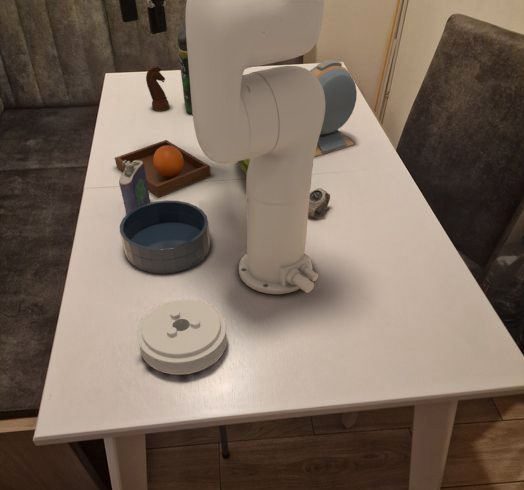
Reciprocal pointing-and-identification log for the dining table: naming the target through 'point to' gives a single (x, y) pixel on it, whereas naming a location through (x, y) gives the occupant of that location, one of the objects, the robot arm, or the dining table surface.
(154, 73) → the chess piece
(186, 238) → the bowl
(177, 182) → the tray
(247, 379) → the dining table surface
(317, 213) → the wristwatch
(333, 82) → the alarm clock
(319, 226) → the dining table surface
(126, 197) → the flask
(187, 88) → the coffee jar
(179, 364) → the lid
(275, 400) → the dining table surface
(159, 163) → the mandarin
